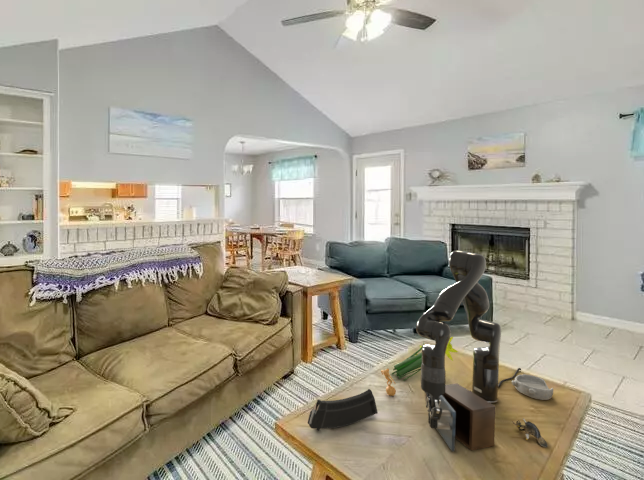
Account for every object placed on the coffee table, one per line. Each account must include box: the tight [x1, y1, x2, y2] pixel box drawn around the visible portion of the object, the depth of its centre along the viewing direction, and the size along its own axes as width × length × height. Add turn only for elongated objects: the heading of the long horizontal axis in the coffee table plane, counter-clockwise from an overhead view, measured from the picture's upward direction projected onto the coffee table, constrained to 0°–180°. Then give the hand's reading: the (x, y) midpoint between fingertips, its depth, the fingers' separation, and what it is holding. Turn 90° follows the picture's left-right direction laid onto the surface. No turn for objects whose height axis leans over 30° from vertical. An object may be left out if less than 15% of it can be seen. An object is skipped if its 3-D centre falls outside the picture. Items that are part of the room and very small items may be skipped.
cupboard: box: [443, 382, 497, 451], centre depth 136 cm, size 10×16×14 cm, turn 15°
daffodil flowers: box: [391, 336, 459, 381], centre depth 182 cm, size 17×15×35 cm
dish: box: [510, 373, 554, 401], centre depth 165 cm, size 14×14×5 cm
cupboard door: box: [436, 395, 456, 452], centre depth 135 cm, size 6×16×14 cm, turn 174°
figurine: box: [380, 368, 397, 397], centre depth 161 cm, size 8×6×12 cm
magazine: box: [307, 388, 379, 432], centre depth 142 cm, size 17×3×30 cm
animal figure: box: [511, 418, 549, 448], centre depth 134 cm, size 8×7×9 cm
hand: (432, 425), depth 129 cm, fingers closed
